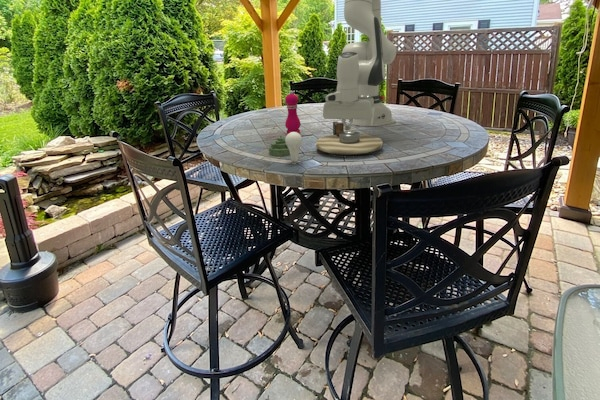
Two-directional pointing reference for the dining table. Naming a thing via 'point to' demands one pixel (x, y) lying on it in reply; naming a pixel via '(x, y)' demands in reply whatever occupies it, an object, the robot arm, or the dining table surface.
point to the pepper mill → (292, 114)
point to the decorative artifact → (279, 148)
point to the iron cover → (349, 137)
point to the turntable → (334, 146)
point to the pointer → (334, 127)
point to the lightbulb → (293, 144)
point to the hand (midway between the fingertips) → (347, 129)
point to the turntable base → (348, 154)
